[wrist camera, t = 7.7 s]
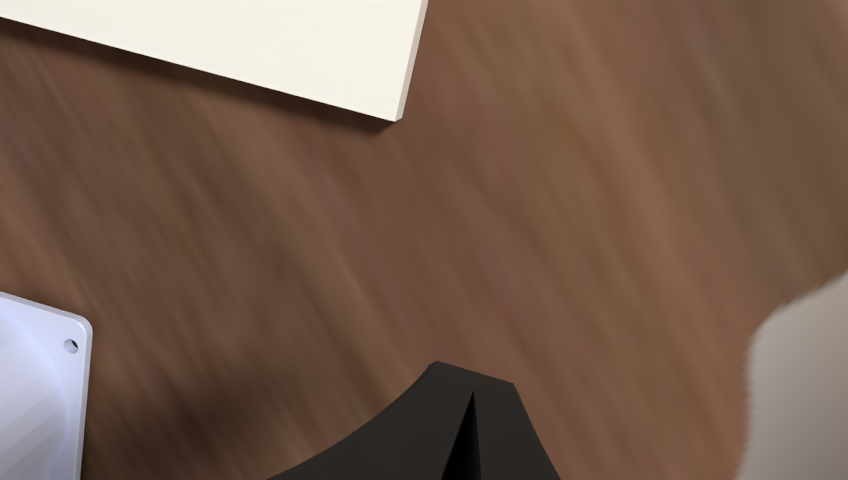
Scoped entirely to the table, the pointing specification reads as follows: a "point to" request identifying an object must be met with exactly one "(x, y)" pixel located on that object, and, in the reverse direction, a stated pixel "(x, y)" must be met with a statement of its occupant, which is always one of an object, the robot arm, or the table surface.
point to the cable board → (260, 41)
